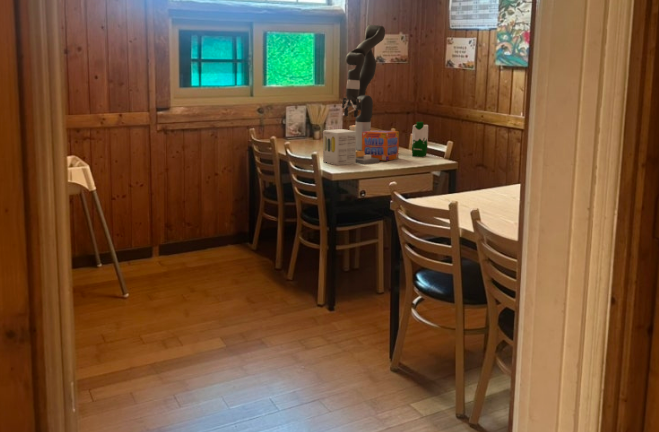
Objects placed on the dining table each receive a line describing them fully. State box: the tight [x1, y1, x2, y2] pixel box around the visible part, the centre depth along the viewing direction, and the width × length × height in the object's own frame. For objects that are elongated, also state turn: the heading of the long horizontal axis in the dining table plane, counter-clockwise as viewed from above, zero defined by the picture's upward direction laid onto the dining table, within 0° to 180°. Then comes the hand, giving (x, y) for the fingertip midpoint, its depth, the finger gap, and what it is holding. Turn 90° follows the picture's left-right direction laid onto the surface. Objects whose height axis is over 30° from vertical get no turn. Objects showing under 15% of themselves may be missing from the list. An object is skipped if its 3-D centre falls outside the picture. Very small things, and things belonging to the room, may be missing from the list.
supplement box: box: [322, 128, 357, 166], centre depth 387 cm, size 13×13×18 cm
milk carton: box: [411, 121, 429, 158], centre depth 413 cm, size 9×9×20 cm
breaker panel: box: [355, 155, 380, 165], centre depth 394 cm, size 11×18×4 cm, turn 38°
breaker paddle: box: [356, 150, 365, 157], centre depth 394 cm, size 5×2×3 cm, turn 128°
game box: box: [361, 130, 400, 162], centre depth 402 cm, size 16×16×16 cm
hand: (350, 116), depth 413 cm, fingers open, 8 cm apart
